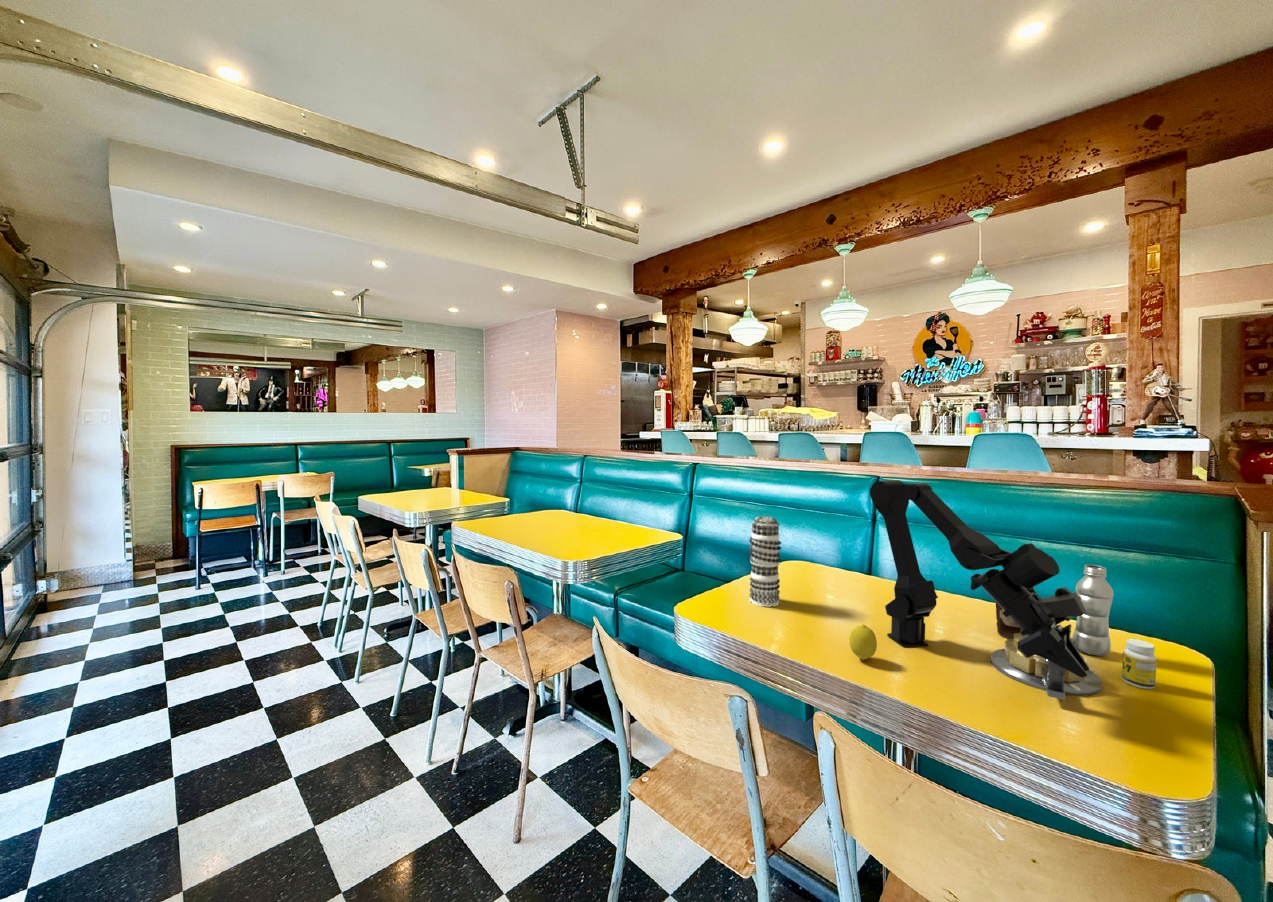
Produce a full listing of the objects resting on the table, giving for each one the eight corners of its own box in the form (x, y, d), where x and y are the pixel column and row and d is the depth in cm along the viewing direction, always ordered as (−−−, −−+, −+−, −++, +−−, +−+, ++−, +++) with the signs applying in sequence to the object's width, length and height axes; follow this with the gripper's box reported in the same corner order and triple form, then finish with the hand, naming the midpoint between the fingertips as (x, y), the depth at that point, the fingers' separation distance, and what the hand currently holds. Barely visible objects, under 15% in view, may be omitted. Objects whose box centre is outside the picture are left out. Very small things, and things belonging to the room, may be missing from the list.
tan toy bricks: (1002, 646, 113) (1004, 605, 113) (1077, 660, 106) (1079, 617, 106) (1012, 689, 95) (1014, 641, 94) (1103, 710, 88) (1106, 658, 87)
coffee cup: (1043, 645, 117) (1045, 591, 116) (1003, 642, 118) (1005, 589, 118) (1022, 630, 125) (1024, 580, 125) (985, 627, 127) (987, 578, 126)
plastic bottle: (1100, 648, 115) (1104, 564, 114) (1117, 661, 109) (1122, 572, 108) (1066, 644, 117) (1070, 561, 116) (1081, 657, 111) (1085, 569, 110)
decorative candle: (744, 603, 144) (745, 518, 143) (754, 594, 152) (755, 514, 151) (775, 609, 139) (776, 522, 138) (784, 599, 147) (785, 517, 146)
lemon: (874, 668, 106) (875, 631, 105) (847, 661, 109) (848, 626, 108) (877, 657, 111) (878, 623, 110) (851, 651, 113) (852, 617, 113)
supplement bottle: (1118, 675, 103) (1120, 635, 102) (1149, 681, 101) (1152, 641, 100) (1126, 685, 99) (1128, 644, 98) (1159, 692, 96) (1161, 650, 96)
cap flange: (1043, 697, 94) (1045, 662, 94) (970, 654, 112) (972, 624, 112) (1127, 692, 96) (1129, 657, 96) (1043, 650, 114) (1044, 621, 114)
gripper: (1043, 586, 86) (1129, 671, 79) (1059, 566, 99) (1134, 638, 91) (987, 617, 92) (1062, 699, 85) (1009, 595, 105) (1076, 664, 97)
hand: (1085, 673), depth 89 cm, fingers open, 3 cm apart
